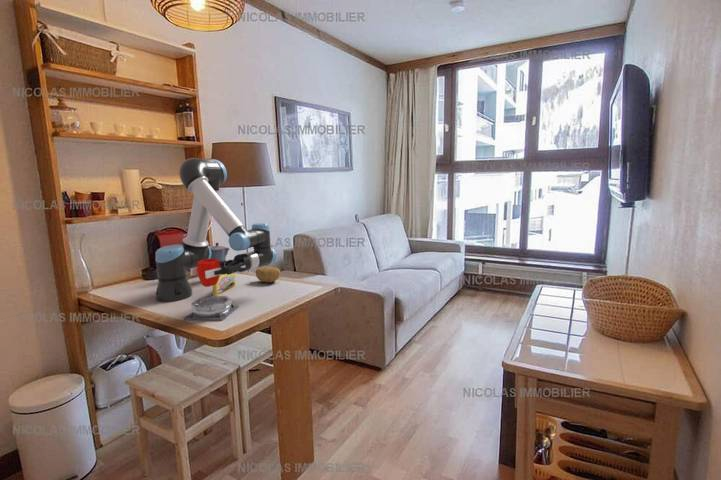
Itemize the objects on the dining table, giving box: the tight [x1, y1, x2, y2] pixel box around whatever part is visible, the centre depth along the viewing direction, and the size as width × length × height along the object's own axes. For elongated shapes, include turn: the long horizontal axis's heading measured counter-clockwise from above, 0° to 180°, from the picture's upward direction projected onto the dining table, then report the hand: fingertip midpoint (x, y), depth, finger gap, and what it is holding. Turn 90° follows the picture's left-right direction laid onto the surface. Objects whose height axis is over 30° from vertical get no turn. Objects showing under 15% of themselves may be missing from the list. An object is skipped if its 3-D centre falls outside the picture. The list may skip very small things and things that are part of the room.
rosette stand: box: [183, 295, 240, 322], centre depth 148 cm, size 15×15×5 cm
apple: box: [197, 259, 221, 288], centre depth 146 cm, size 9×9×11 cm
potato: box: [255, 266, 281, 284], centre depth 193 cm, size 10×14×8 cm
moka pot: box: [209, 242, 230, 276], centre depth 199 cm, size 10×15×20 cm, turn 102°
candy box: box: [212, 273, 236, 296], centre depth 179 cm, size 16×2×8 cm, turn 168°
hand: (198, 273), depth 142 cm, fingers closed on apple, 9 cm apart
